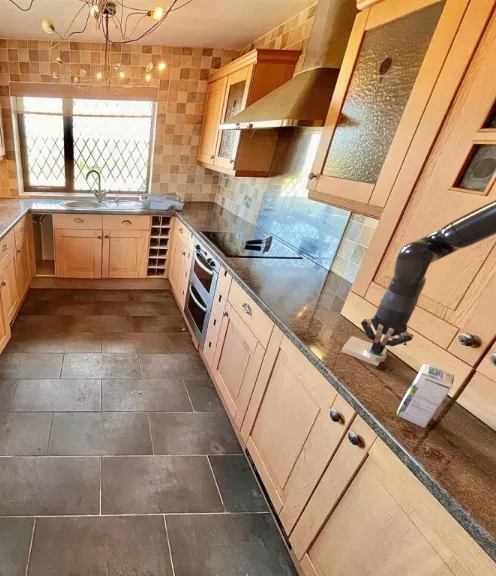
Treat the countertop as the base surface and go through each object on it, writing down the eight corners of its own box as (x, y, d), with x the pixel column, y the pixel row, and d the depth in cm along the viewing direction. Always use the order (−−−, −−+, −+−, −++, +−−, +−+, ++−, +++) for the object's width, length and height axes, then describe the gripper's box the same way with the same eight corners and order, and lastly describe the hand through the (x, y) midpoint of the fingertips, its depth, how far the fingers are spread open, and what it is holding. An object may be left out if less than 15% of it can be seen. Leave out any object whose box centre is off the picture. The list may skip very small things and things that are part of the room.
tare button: (379, 356, 99) (381, 352, 98) (377, 359, 98) (379, 355, 97) (370, 352, 101) (372, 349, 100) (368, 355, 99) (370, 352, 99)
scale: (388, 354, 103) (392, 346, 101) (380, 369, 97) (384, 360, 95) (350, 340, 110) (353, 332, 109) (340, 352, 104) (343, 344, 103)
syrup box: (399, 403, 84) (422, 362, 78) (428, 416, 80) (455, 373, 74) (395, 415, 81) (419, 373, 74) (426, 429, 77) (453, 385, 70)
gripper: (429, 309, 89) (405, 357, 96) (373, 293, 98) (354, 338, 105) (424, 318, 84) (399, 367, 92) (366, 301, 93) (347, 347, 101)
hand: (375, 352), depth 99 cm, fingers closed
